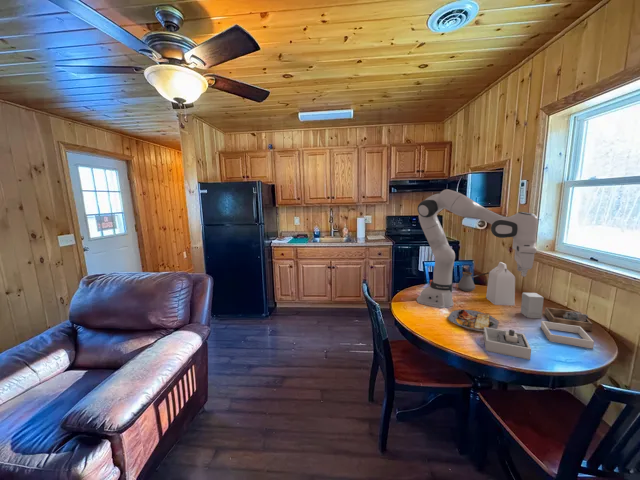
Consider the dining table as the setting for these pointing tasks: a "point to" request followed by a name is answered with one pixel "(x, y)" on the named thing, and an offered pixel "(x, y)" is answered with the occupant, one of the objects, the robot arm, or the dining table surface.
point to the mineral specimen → (575, 316)
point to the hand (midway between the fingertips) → (521, 273)
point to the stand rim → (559, 312)
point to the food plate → (479, 319)
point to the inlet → (502, 340)
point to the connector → (511, 336)
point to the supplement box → (532, 305)
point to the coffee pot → (468, 281)
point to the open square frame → (583, 342)
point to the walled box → (504, 348)
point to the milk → (501, 286)
